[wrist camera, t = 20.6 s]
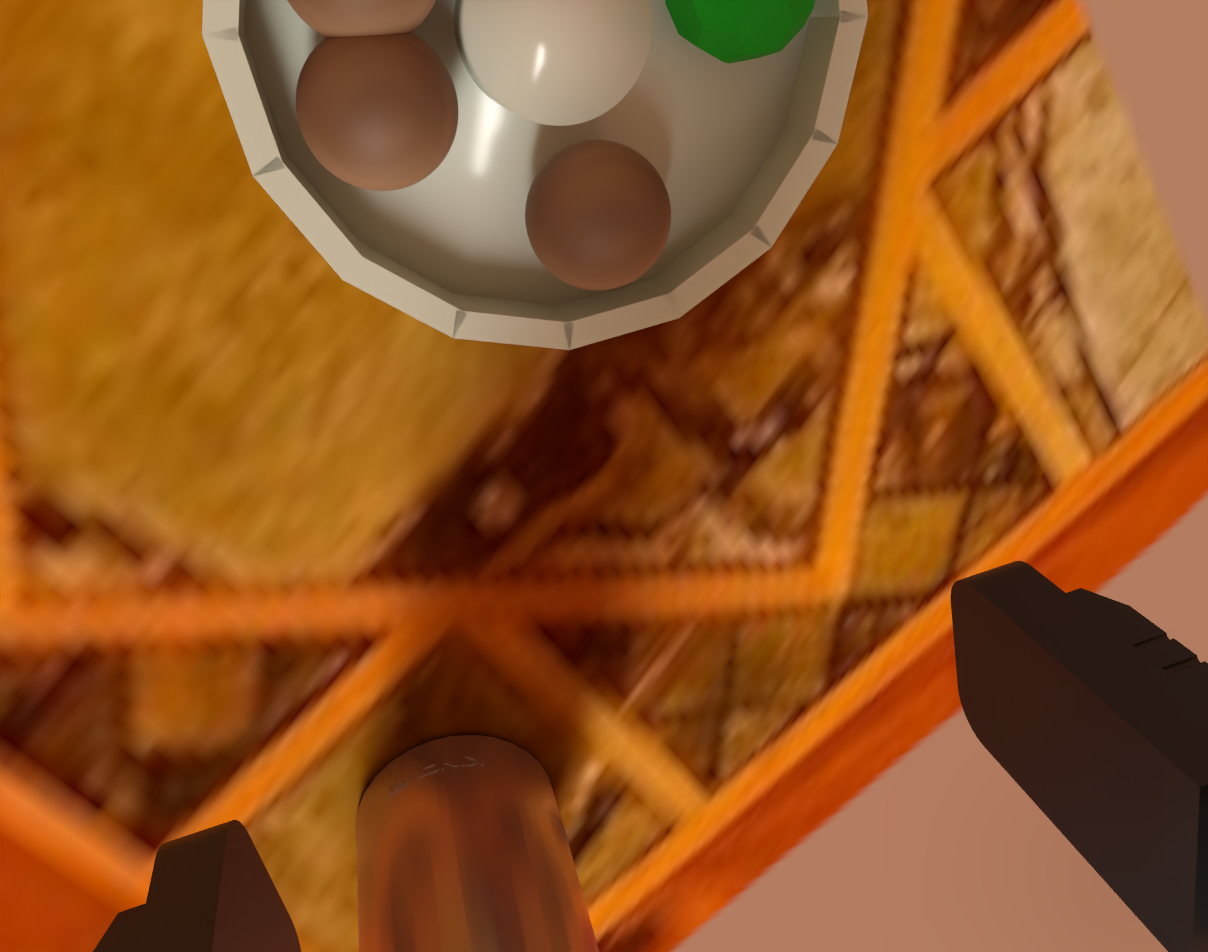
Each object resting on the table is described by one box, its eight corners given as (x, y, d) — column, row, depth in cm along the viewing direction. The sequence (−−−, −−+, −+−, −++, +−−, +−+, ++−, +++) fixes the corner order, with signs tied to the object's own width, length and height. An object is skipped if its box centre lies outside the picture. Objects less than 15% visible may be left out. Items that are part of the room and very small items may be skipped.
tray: (850, 239, 42) (897, 259, 39) (339, 385, 40) (339, 421, 36) (776, -411, 33) (830, -463, 29) (105, -273, 30) (74, -311, 27)
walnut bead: (661, 253, 39) (701, 283, 35) (534, 288, 39) (557, 323, 34) (635, 117, 37) (673, 131, 33) (500, 152, 37) (520, 171, 32)
